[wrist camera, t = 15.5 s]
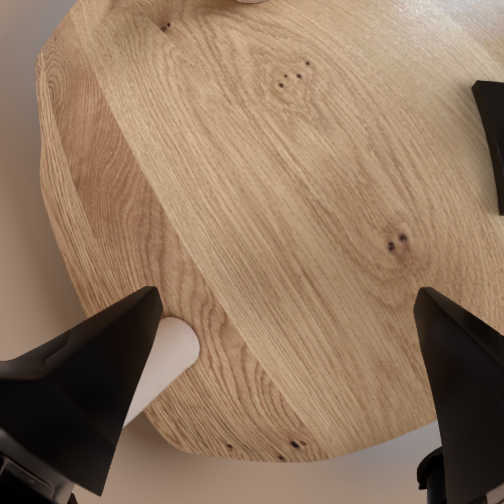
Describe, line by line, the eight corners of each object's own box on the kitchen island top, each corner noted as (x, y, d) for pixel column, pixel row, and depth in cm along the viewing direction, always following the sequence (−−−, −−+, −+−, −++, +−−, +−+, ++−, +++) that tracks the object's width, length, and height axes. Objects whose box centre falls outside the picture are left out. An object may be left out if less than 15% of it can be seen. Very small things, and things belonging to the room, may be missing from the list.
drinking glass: (154, 354, 28) (44, 416, 15) (155, 298, 27) (23, 349, 13) (205, 380, 26) (97, 469, 12) (212, 322, 25) (74, 406, 11)
